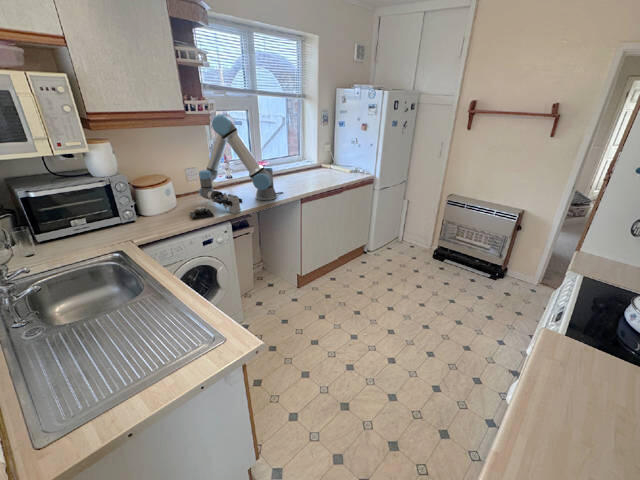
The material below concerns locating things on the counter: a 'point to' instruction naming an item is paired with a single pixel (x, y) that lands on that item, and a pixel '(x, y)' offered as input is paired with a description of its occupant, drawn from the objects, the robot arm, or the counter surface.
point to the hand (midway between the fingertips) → (236, 202)
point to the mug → (235, 203)
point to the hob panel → (201, 214)
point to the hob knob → (200, 208)
